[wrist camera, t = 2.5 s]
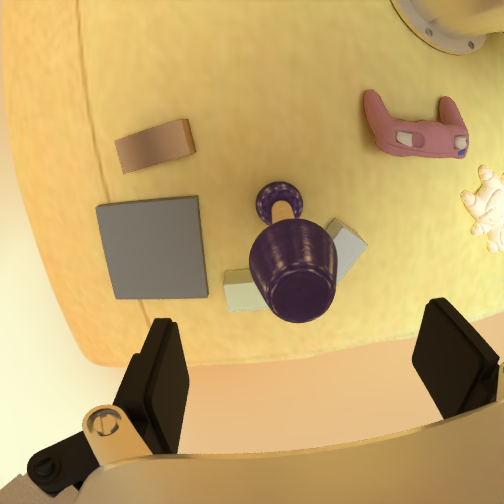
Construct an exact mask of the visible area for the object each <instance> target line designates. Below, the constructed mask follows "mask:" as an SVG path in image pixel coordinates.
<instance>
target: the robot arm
mask: <svg viewBox="0 0 504 504" xmlns="http://www.w3.org/2000/svg"><path fill="white" fill-rule="evenodd" d="M391 1H392V3H393V5H394V7H395V9H396V10H397V12H398V13H399V15H400V16H401V18H402V19H403V21H404V22H405V23H406V24H407V25H408V26H409V28H410V29H411V30H412V31H413V32H414V33H416V34H417V35H418V36H419V37H420V38H421V39H423V40H424V41H425V42H427V43H428V44H429V45H431V46H433V47H435V48H436V49H438V50H441V51H443V52H446V53H449V54H455V55H461V54H468V53H472V52H474V51H476V50H478V49H479V48H480V47H481V46H482V45H483V44H484V42H485V40H486V38H487V34H488V33H493V32H501V31H502V32H503V33H504V0H391ZM499 358H500V357H499V356H498V355H497V354H496V353H495V351H494V350H493V349H492V348H491V347H490V346H489V344H488V343H487V342H486V341H485V340H484V339H483V338H482V337H481V336H480V334H479V333H478V332H477V331H476V330H475V329H474V328H473V327H472V326H471V324H470V323H469V322H468V321H467V320H466V319H465V318H464V317H463V316H462V315H461V314H460V313H459V312H458V311H457V310H456V309H455V308H454V307H453V305H452V304H451V303H450V302H449V301H448V300H447V299H446V298H443V297H442V298H435V299H431V300H430V301H429V303H428V304H427V305H426V307H425V311H424V315H423V319H422V323H421V327H420V331H419V334H418V338H417V342H416V345H415V348H414V352H413V355H412V363H413V366H414V368H415V369H416V371H417V373H418V374H419V376H420V378H421V380H422V381H423V383H424V385H425V386H426V388H427V390H428V392H429V393H430V395H431V397H432V399H433V400H434V402H435V404H436V406H437V408H438V410H439V411H440V413H441V415H442V417H443V419H444V420H441V421H438V422H435V423H431V424H428V425H424V426H421V427H417V428H414V429H410V430H406V431H402V432H398V433H394V434H390V435H385V436H381V437H376V438H372V439H366V440H362V441H356V442H351V443H345V444H338V445H332V446H325V447H318V448H310V449H301V450H292V451H279V452H266V453H243V454H177V452H178V445H179V439H180V434H181V429H182V423H183V416H184V412H185V406H186V401H187V395H188V390H189V375H188V370H187V366H186V362H185V357H184V353H183V348H182V344H181V339H180V334H179V329H178V325H177V323H176V322H172V320H171V318H155V319H154V321H153V323H152V326H151V328H150V330H149V333H148V335H147V338H146V340H145V342H144V345H143V347H142V350H141V352H140V353H135V354H134V355H133V356H132V358H131V361H130V363H129V365H128V368H127V370H126V372H125V375H124V377H123V380H122V382H121V385H120V387H119V389H118V392H117V395H116V397H115V399H114V402H113V405H101V406H97V407H95V408H93V409H92V410H90V411H89V412H88V413H87V414H86V415H85V417H84V419H83V423H82V427H83V431H81V432H79V433H77V434H75V435H73V436H71V437H69V438H67V439H65V440H62V441H60V442H58V443H56V444H54V445H52V446H50V447H47V448H45V449H43V450H41V451H39V452H37V453H36V454H34V455H33V456H32V457H31V458H30V460H29V462H28V464H27V473H26V474H25V475H24V476H22V475H21V474H19V475H18V476H17V477H15V478H14V479H13V480H12V481H11V482H9V483H8V484H7V485H6V486H5V487H3V488H2V489H1V490H0V504H504V362H503V363H502V364H501V365H500V366H499V365H498V361H499Z"/></svg>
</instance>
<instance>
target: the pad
mask: <svg viewBox="0 0 504 504" xmlns="http://www.w3.org/2000/svg"><path fill="white" fill-rule="evenodd" d="M95 208H96V214H97V219H98V224H99V230H100V235H101V239H102V244H103V249H104V253H105V258H106V262H107V266H108V271H109V275H110V279H111V283H112V286H113V290H114V294H115V298H116V299H188V298H208V294H209V292H208V284H207V275H206V267H205V259H204V250H203V241H202V232H201V222H200V212H199V202H198V196H186V197H173V198H161V199H150V200H140V201H130V202H120V203H111V204H102V205H99V206H97V207H95Z"/></svg>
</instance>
